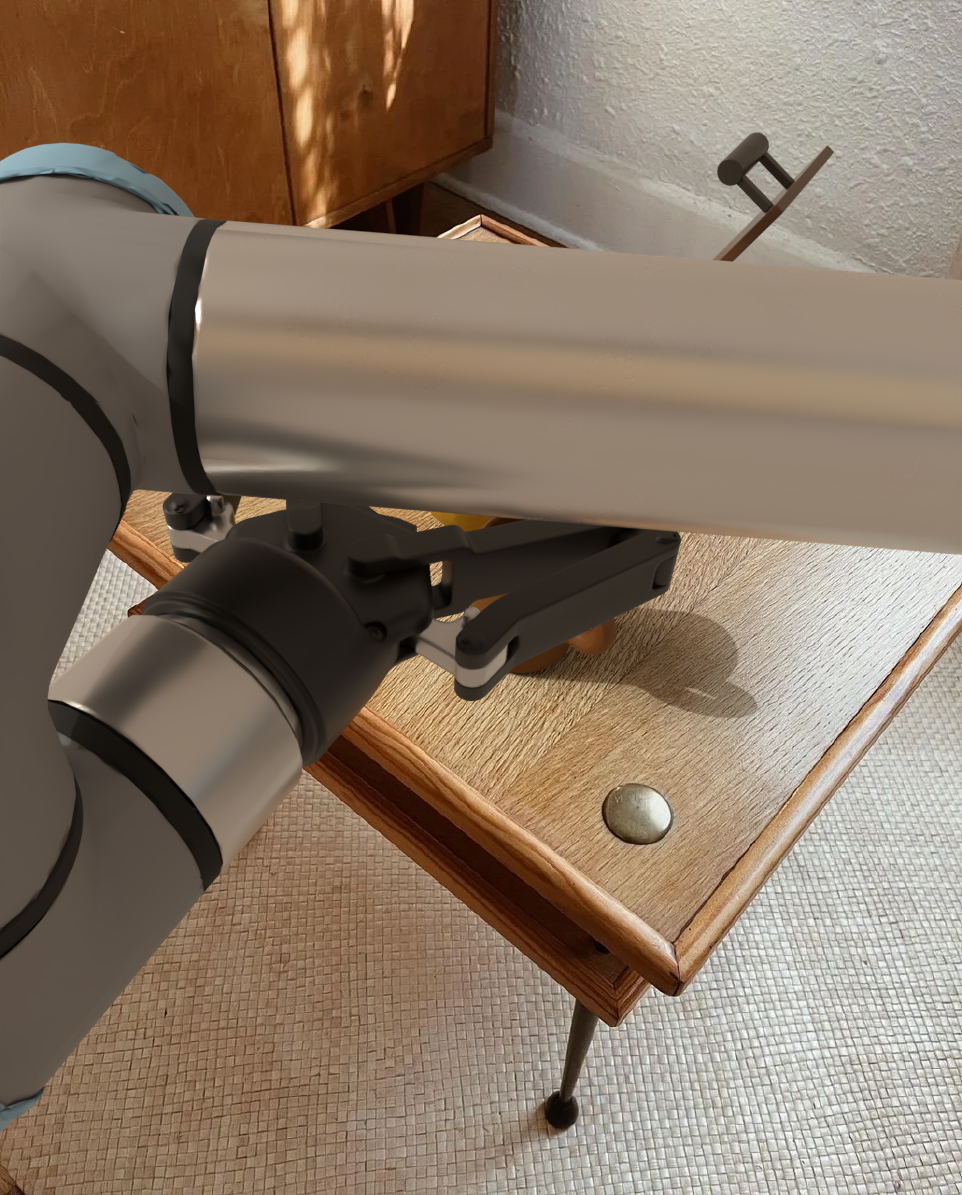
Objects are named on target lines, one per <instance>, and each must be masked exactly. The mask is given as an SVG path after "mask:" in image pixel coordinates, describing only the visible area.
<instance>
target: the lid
mask: <svg viewBox="0 0 962 1195" xmlns="http://www.w3.org/2000/svg"><path fill="white" fill-rule="evenodd" d="M769 148H770V142H769V140H768V138H767V136H766V135H765V134H763V133H762V132H757V131H755V132H752V133H750V134H748V135H747V136H746V137H745V138H743V140H742V141H741V142H740V143H739V144H738V145H737V146H736V147H735V148H734V149H733V150H732V151H731V152H730V153H729V154H728V155H726V157H725V158H724V159H722V160H721V161H720V163H719V164H718V166H717V170H716V175H717V178H718V180H719V181H720V183H721V184H723V185H725V186H729V187H732V186H733V187H734V186H736V185H737V186H738V188H740V189H741V191H742V192H743V193H744V194H745V195H746V196H747V197H748V198H749V199H750V200H751V201H752V202H753V203H754V204H755V206H756V207H758V208H759V209H760V212H759V213H758V214H756V216H755V217H753V218H752V220H750V221H749V223H748V224H747V225H746V226H744V227H743V229H742V230H741V231H739V233H737V235H736V236H735V237H734V238H733V239H732V240H731V241H730V242H728V243H727V244H726V246H724V247H723V249H721V251H719V253H718V254H717V255H715V257H714V258H712V260H718V261H731V262H735V260H737V258H738V257H739V256H741V255H742V254H743V252H745V250H747V249H748V248H749V247H750V246H751V245H752V244H753V243H754V242H755V241H756V240H757V239H758V238H759V237H760V236H761V235H762V234H763V233H764V232H765V231H766V230H767V229H768V228H769V227H770V226H771V225H772V224H773V223H774V222H776V220H777V219H779V218H780V217H781V216H782V215H783V213H785V212H786V210H787V209H788V208H789V207H790V206H791V204H792V203H793V202H794V201H795V200H796V198H797V197H798V196H799V195H800V194H801V193H802V191H803V190H804V189H805V188H806V187H807V185H808V184H809V183H810V182H811V181H812V180H813V178H814V177H815V176H816V175H817V173H818V172H819V171H820V170H821V169H822V168H823V167H824V165H825V164H826V163H827V162H828V161H829V160H830V158H831V157H832V156H833V155H834V154H835V151H834V150H833V149H832V147H830V145H826V146H825V147H824V148H823V149H821V150H820V152H819V153H818V154H817V155H815V157H814V158H812V160H810V162H809V163H808V164H807V165H806V166H804V168H803V169H801V170H800V172H799V173H798V174H797V175H795V176H794V178H793V177H792V175H791V174H789V173H788V171H786V170H785V169H784V167H782V166H781V164H780V163H778V161H777V160H776V159H775V158H774V157H773V156H772V155H771V154H770V152H769V150H770V149H769ZM758 163H760V165H762V166H763V167H764V169H766V170H767V171H768V173H769V174H770V175H772V177H774V179H775V180H776V181H777V182H778V183H779V184H780V186H782V187H783V189H782V190H781V191H780V192H778V193H777V195H776V196H775V197H773V199H772V200H770V199H769V197H767V196H766V194H764V192H762V190H761V189H760V188H759V187H758V186H757V185H756V184H755V183H754V182H753V181H752V180H751V179H750V178H749V177H748V176H747V174H749V173H750V172H751V171H752V169H753V168H755V167H756V165H757V164H758Z"/></svg>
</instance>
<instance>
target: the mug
mask: <svg viewBox="0 0 962 1195" xmlns="http://www.w3.org/2000/svg"><path fill="white" fill-rule="evenodd" d="M521 520H525V519H515V518H503V517H492V518H491V519H489V520H488V521H487V522H486V523H485V524H484V525H483V526H482V527H481V529H482V528H487V527H492V526H497V525H501V524H506V523H511V522H516V521H521ZM507 594H508V593H507ZM504 595H506V594H503V595H499V596H494V597H490V598H485V599H481V600H477V601H475V602H473V603H472V604H471V605H470V607H476V608H479V609H480V610H481V611H482V610H484V609H485V608H486V607H487V606H488V605H490V604H491V603H493V602H494V601H496V600H497V599H499V598H500V597H502V596H504ZM615 618H616V617H615ZM615 618H613V619H611V620H609V621H607V622H605V623H603V624H601V625H599V626H597V627H595V628H593V629H590V630H588V631H586V632H584V633H582V634H580V635H578V636H576V637H574V638H572V639H570V640H568V641H566V642H564V643H562V644H560V645H558V646H555V647H553V648H551V649H549V650H547V651H545V652H543V653H541V654H539V655H537V656H535V657H533V658H531V659H529V660H527V661H525V662H523V663H520V664H518V665H516V666H514V667H513V668H512V669H511V670H510V671H509V673H517V674H527V673H536V672H540V671H544V670H545V669H548V668H550V667H552V666H553V665H555V664H557V663H558V662H559V661H561V659H562V658H563V657H564V656H566V653H567V651H568V650H569V648H570V646H571V647H572V648H573V649H574V650H577V652H579V653H582V654H584V655H589V656H599V655H601V654H604V653H606V652H607V651H608V650H609V649H610V648H611V647H612V646H613V645H614V643H615V640H616V637H617V629H618V627H617V623H616V622H617V621H616V619H615Z"/></svg>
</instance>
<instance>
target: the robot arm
mask: <svg viewBox="0 0 962 1195" xmlns="http://www.w3.org/2000/svg"><path fill="white" fill-rule="evenodd" d="M135 491H149V492H160V493H171V494H169V496H168V497H166V498H165V500H164V501H163V503H162V512H163V515H164V519H165V524H166V528H167V532H168V535H169V539H170V544H171V549H172V553H173V556H174V558H175V559H176V560H177V561H179V562H180V563H185V564H186V566H184V567H183V568H182V569H181V570H180V571H179V572H178V573H176V574H175V575H174V576H173V577H172V578H170V579H169V581H167V582H166V583H165V584H164V585H162V586H161V587H160V588H159V589H158V590H157V591H156V592H154V593H153V594H152V595H151V596H150V597H149V598H148V599H147V600H146V601H145V603H144V605H143V606H142V610H141V614H132V615H130V616H128V617H126V618H125V619H124V620H121V621H120V622H118V623H117V624H116V625H114V627H113V628H111V630H109V631H107V633H105V635H103V636H102V637H101V638H100V639H99V640H98V641H97V642H96V643H94V645H92V647H90V648H89V649H88V650H87V651H86V652H85V653H83V655H81V656H80V657H79V658H78V659H77V660H75V661H74V662H73V663H72V664H71V665H70V666H69V667H68V668H66V670H64V671H63V672H62V673H61V674H60V675H59V676H58V677H57V678H56V679H55V680H53V681H52V679H53V675H54V673H55V671H56V668H57V666H58V664H59V661H60V659H61V657H62V655H63V652H64V650H65V647H66V646H67V643H68V641H69V639H70V636H71V634H72V632H73V630H74V627H75V625H76V623H77V620H78V618H79V615H80V613H81V611H82V608H83V606H84V603H85V601H86V598H87V597H88V594H89V592H90V589H91V586H92V585H93V582H94V579H95V577H96V574H97V572H98V570H99V568H100V566H101V563H102V561H103V558H104V556H105V554H106V551H107V550H108V547H109V545H110V544H109V543H111V542H112V540H113V538H114V536H115V535H116V533H117V531H118V528H119V527H120V524H121V522H122V519H123V518H124V515H125V512H126V511H127V506H128V503H129V501H130V499H131V497H132V496H133V493H134V492H135ZM242 497H247V498H259V499H272V500H283V501H284V500H285V509H280V510H276V511H272V512H268V513H264V514H260V515H255V516H252V517H247V518H245V519H242V520H240V521H238V522H236V515H237V512H238V508H239V505H240V503H241V500H242ZM373 508H381V509H394V510H404V511H406V510H407V511H419V512H429V513H431V512H441V513H454V514H466V515H478V516H490V517H503V518H515V519H525V520H521V521H516V522H511V523H506V524H501V525H497V526H492V527H487V528H482V529H478V530H473V531H464V530H463V529H462V528H461V527H460V526H458V525H447V526H445V525H443V526H438V527H433V528H429V529H424V530H419V531H418V525H416V524H413V523H411V522H409V521H407V520H405V519H402V518H400V517H397V516H391V515H387V514H382V513H378V512H377V511H376V510H375V509H373ZM680 533H686V534H687V533H688V534H700V535H711V536H713V535H714V536H723V537H724V536H725V537H736V538H737V537H738V538H750V539H762V540H773V541H786V542H798V543H808V544H809V543H811V544H824V545H833V546H835V545H836V546H845V547H847V546H848V547H860V548H871V549H883V550H897V551H909V552H918V553H919V552H920V553H921V552H922V553H932V554H945V555H956V556H957V555H958V556H962V279H951V278H938V277H927V276H926V277H925V276H917V275H916V276H915V275H914V276H913V275H902V274H889V273H877V272H866V271H865V272H864V271H851V270H841V269H830V268H818V267H817V268H816V267H806V266H805V267H804V266H793V265H791V266H790V265H779V264H767V263H765V264H764V263H754V262H743V261H742V262H741V261H733V262H731V261H718V260H713V259H704V258H694V257H692V258H691V257H681V256H670V255H669V256H668V255H655V254H643V253H631V252H619V251H605V250H593V249H582V248H570V247H558V246H557V247H556V246H544V245H534V244H533V245H531V244H519V243H510V242H509V243H508V242H497V241H496V242H495V241H482V240H470V239H461V238H460V239H459V238H446V237H434V236H423V235H421V236H420V235H409V234H397V233H396V234H395V233H385V232H373V231H360V230H359V231H358V230H346V229H336V228H324V227H310V226H297V225H287V224H274V223H273V224H272V223H262V222H251V221H248V222H247V221H239V220H238V221H237V220H225V219H214V218H203V217H195V215H194V213H193V212H192V211H191V210H190V208H189V207H188V206H187V204H186V203H185V202H184V200H183V199H182V198H180V196H179V195H178V194H177V192H175V191H174V190H173V189H172V188H171V187H169V185H168V184H167V183H165V182H164V181H163V180H162V179H161V178H159V177H158V176H156V175H154V174H152V173H148V171H145V170H144V169H142V168H140V167H139V166H137V165H135V164H134V163H132V162H131V161H127V160H126V159H124V158H122V157H120V156H118V155H117V154H116V153H115V152H113V151H110V150H108V149H104V148H100V147H98V146H93V145H88V144H83V143H70V142H58V143H57V142H56V143H46V144H45V143H44V144H43V143H42V144H39V145H34V146H30V147H27V148H24V149H21V150H19V151H16V152H14V153H12V154H10V155H8V156H7V157H5V158H3V159H1V160H0V1134H1V1133H2V1132H3V1131H4V1130H5V1129H6V1128H7V1127H8V1126H9V1125H10V1124H11V1123H12V1122H13V1120H15V1119H16V1118H20V1117H21V1116H23V1115H24V1114H27V1113H28V1111H29V1110H31V1109H32V1108H33V1107H34V1106H35V1104H36V1103H37V1102H38V1101H39V1100H40V1099H41V1098H42V1096H43V1093H44V1090H45V1089H46V1088H47V1087H46V1085H47V1084H48V1082H49V1081H50V1080H51V1079H52V1078H53V1076H55V1074H56V1072H58V1070H59V1069H60V1068H61V1067H62V1065H63V1064H64V1063H65V1062H66V1061H67V1059H68V1058H69V1057H71V1054H72V1053H73V1052H74V1051H75V1050H76V1049H77V1047H78V1046H79V1045H80V1044H81V1042H82V1041H83V1040H84V1039H85V1038H86V1037H87V1035H88V1034H89V1033H90V1032H91V1030H92V1029H93V1028H94V1027H95V1026H96V1024H97V1023H98V1022H99V1021H100V1020H101V1018H102V1017H103V1016H104V1014H105V1013H106V1012H107V1011H108V1010H109V1009H110V1007H111V1006H112V1005H113V1004H114V1002H115V1001H117V999H118V998H119V996H121V994H122V993H123V992H124V991H125V989H126V988H127V987H128V985H130V983H131V982H132V981H133V980H134V979H135V977H136V976H137V975H138V973H139V972H140V971H141V970H142V969H143V968H144V966H145V965H146V964H147V963H148V962H149V960H150V959H151V958H152V957H153V955H154V954H155V953H156V952H157V951H158V950H159V948H160V947H161V946H162V945H163V943H164V942H165V941H166V940H167V939H168V937H169V936H170V935H171V934H172V932H173V931H174V930H175V929H176V927H177V926H178V925H179V924H180V923H181V922H182V920H184V918H185V917H186V915H187V914H188V913H189V912H190V911H191V910H192V908H193V907H194V906H195V905H196V903H197V902H198V901H199V899H200V898H201V897H202V896H203V895H204V893H205V892H206V891H207V890H208V889H209V887H210V886H211V885H212V884H213V883H214V882H215V880H217V878H218V877H220V876H221V875H222V874H223V873H224V872H225V871H226V869H227V868H228V867H229V866H230V864H231V863H232V862H233V861H234V860H235V858H236V857H237V856H238V855H239V854H240V852H241V851H242V850H243V849H244V848H245V847H246V845H248V843H249V842H250V841H251V839H253V837H254V836H255V835H256V834H257V833H258V831H259V830H260V829H261V828H262V827H263V826H264V825H265V823H266V822H267V821H268V819H269V818H270V817H271V816H272V815H273V814H274V813H275V811H276V810H277V809H278V808H279V807H280V806H281V804H282V803H283V802H284V801H285V799H287V797H288V796H289V795H290V794H291V792H292V791H293V790H294V789H295V788H296V787H297V785H298V784H299V782H300V779H301V777H302V776H303V768H304V767H309V766H311V765H313V764H315V763H316V762H318V761H319V760H320V759H321V758H322V757H323V756H324V755H325V753H326V752H327V751H328V750H329V748H331V746H332V745H333V744H334V742H335V741H336V740H337V739H338V738H339V737H340V736H341V735H342V733H343V732H344V731H345V730H346V729H347V727H348V726H349V725H350V724H351V722H352V721H353V720H354V719H355V718H356V717H357V716H358V714H359V713H360V712H361V711H362V710H363V708H364V707H365V706H366V705H367V704H368V703H369V701H370V700H371V699H372V698H373V696H374V695H375V693H376V692H377V690H378V689H379V688H380V686H381V685H382V683H383V681H385V680H384V679H385V678H386V677H387V675H388V674H389V672H391V671H392V670H393V669H394V668H395V667H397V666H398V665H400V664H401V663H403V662H405V661H408V660H410V659H413V658H415V657H417V656H419V655H420V656H421V657H423V658H424V659H426V660H427V661H429V662H431V663H433V664H434V665H436V666H438V667H439V668H440V669H442V670H445V672H446V673H447V672H448V673H449V674H450V675H452V676H453V680H454V681H453V691H454V693H455V695H456V696H457V697H458V698H459V699H460V700H463V701H465V702H477V701H481V700H482V699H484V698H485V697H486V696H487V695H489V693H490V692H491V691H492V690H493V689H494V688H495V687H496V686H498V684H499V683H500V682H501V681H502V680H504V678H505V677H506V676H507V675H508V674H509V673H510V670H511V669H512V668H513V667H514V666H516V665H518V664H520V663H523V662H525V661H527V660H529V659H531V658H533V657H535V656H537V655H539V654H541V653H543V652H545V651H547V650H549V649H551V648H553V647H555V646H558V645H560V644H562V643H564V642H566V641H568V640H570V639H572V638H574V637H576V636H578V635H580V634H582V633H584V632H586V631H588V630H590V629H591V630H592V629H593V628H595V627H597V626H599V625H601V624H603V623H605V622H607V621H609V620H611V619H613V618H617V617H619V616H621V615H623V614H625V613H627V612H630V611H631V610H633V609H636V608H637V607H640V606H643V605H644V604H646V603H648V602H650V601H652V600H655V599H657V598H658V597H660V596H663V595H665V594H666V593H667V592H668V591H669V590H670V587H671V584H672V578H673V576H674V571H675V567H676V563H677V559H678V555H679V550H680V548H681V543H682V536H681V534H680ZM437 563H441V578H440V581H439V582H438V583H436V584H434V585H432V584H433V583H432V574H431V565H432V564H437ZM507 593H508V594H507ZM503 594H506V595H504V596H502V597H500V598H499V599H497V600H496V601H494V602H493V603H491V604H490V605H488V606H487V607H486V608H485V609H484V610H482V611H481V610H480V609H479V608H476V607H470V605H471V604H472V603H473V602H475V601H477V600H481V599H485V598H490V597H494V596H499V595H503ZM461 613H463V615H462V616H459V617H458V618H456V619H454V620H450V621H443V620H440V619H443V618H446V617H451V616H454V615H455V616H456V615H459V614H461Z"/></svg>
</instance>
